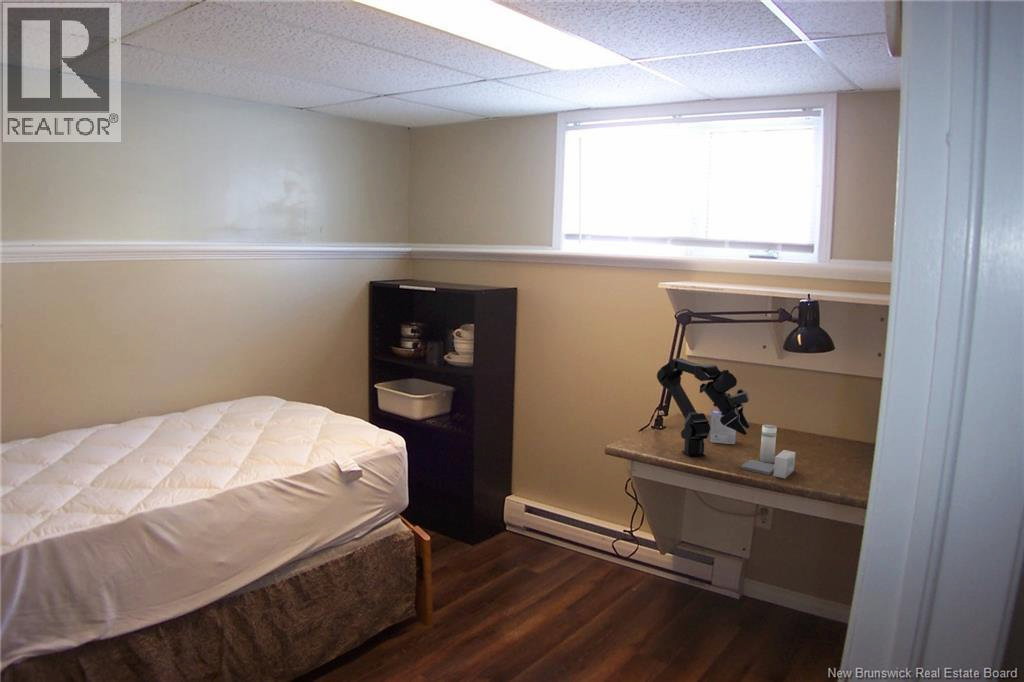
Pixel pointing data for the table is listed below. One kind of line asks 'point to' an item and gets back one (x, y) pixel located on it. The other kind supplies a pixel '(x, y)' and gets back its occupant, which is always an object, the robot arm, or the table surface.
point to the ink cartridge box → (720, 430)
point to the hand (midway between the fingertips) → (747, 430)
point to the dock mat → (758, 467)
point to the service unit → (784, 464)
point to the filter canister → (768, 443)
